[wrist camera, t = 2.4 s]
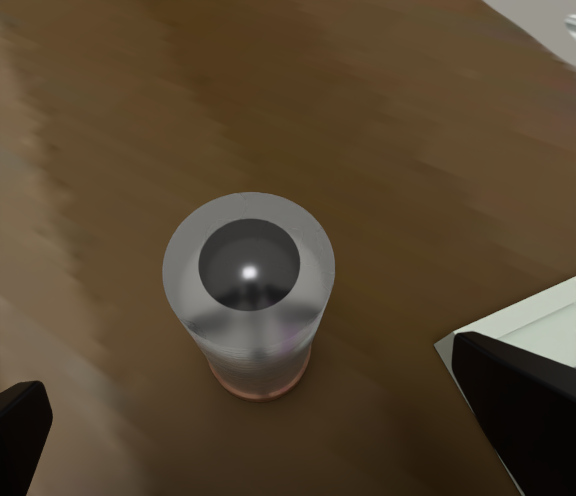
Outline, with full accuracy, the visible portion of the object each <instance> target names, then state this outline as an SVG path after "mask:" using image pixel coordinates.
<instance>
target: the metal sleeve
mask: <svg viewBox="0 0 576 496" xmlns="http://www.w3.org/2000/svg"><path fill="white" fill-rule="evenodd" d="M162 273H163V284H164V289H165V293H166V296H167V298H168V301H169V303H170V305H171V307H172V309H173V310H174V312H175V314H176V315H177V317H178V318H179V319H180V321H181V322H182V324H183V325H184V327H185V328H186V329H187V331H188V332H189V334H190V335H191V337H192V338H193V339H194V341H195V342H196V344H197V345H198V346H199V348H200V349H201V351H202V352H203V354H204V355H205V356H206V358H207V359H208V362H209V365H210V368H211V370H212V372H213V374H214V375H215V377H216V378H217V380H218V381H219V382H220V383H221V385H222V386H223V387H224V388H225V389H226V390H227V391H228V392H229V393H231V394H232V395H233V396H235V397H237V398H239V399H242V400H245V401H249V402H257V403H260V402H268V401H273V400H275V399H278V398H280V397H282V396H284V395H285V394H287V393H288V392H290V391H291V390H292V389H293V388H294V387H295V386H296V385H297V383H298V382H299V381H300V379H301V378H302V376H303V374H304V372H305V369H306V367H307V365H308V362H309V358H310V354H311V344H312V342H313V339H314V336H315V334H316V331H317V328H318V326H319V323H320V320H321V318H322V315H323V312H324V310H325V307H326V304H327V301H328V299H329V296H330V293H331V290H332V287H333V283H334V276H335V261H334V254H333V250H332V247H331V243H330V241H329V239H328V237H327V235H326V233H325V231H324V230H323V228H322V226H321V225H320V224H319V223H318V222H317V220H316V219H315V218H314V217H313V216H312V215H311V214H310V213H309V212H307V211H306V210H305V209H303V208H302V207H300V206H299V205H297V204H295V203H294V202H292V201H289V200H287V199H285V198H282V197H279V196H276V195H272V194H266V193H258V192H244V193H236V194H230V195H227V196H223V197H220V198H217V199H215V200H212V201H210V202H208V203H206V204H204V205H203V206H201V207H200V208H198V209H197V210H195V211H194V212H193V213H192V214H190V215H189V216H188V217H187V218H186V219H185V220H184V221H183V222H182V223H181V224H180V226H179V227H178V228H177V230H176V231H175V233H174V234H173V236H172V238H171V240H170V242H169V244H168V247H167V249H166V252H165V256H164V261H163V271H162Z"/></svg>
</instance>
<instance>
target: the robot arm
mask: <svg viewBox="0 0 576 496" xmlns="http://www.w3.org/2000/svg"><path fill="white" fill-rule="evenodd" d="M451 366H452V371H453V374H454V376H455V378H456V380H457V382H458V384H459V386H460V388H461V390H462V392H463V394H464V396H465V397H466V399H467V401H468V403H469V405H470V407H471V409H472V411H473V413H474V415H475V417H476V419H477V420H478V422H479V424H480V426H481V428H482V430H483V431H484V433H485V435H486V436H487V438H488V440H489V441H490V443H491V444H492V446H493V447H494V449H495V451H496V452H497V454H498V455H499V457H500V458H501V460H502V461H503V463H504V464H505V466H506V467H507V469H508V470H509V472H510V473H511V475H512V476H513V478H514V479H515V481H516V482H517V484H518V485H519V487H520V489H521V490H522V492H523V493H524V495H525V496H576V368H573V367H571V366H568V365H565V364H562V363H560V362H557V361H554V360H552V359H549V358H546V357H543V356H541V355H538V354H535V353H533V352H530V351H527V350H524V349H522V348H519V347H516V346H513V345H511V344H508V343H505V342H503V341H500V340H497V339H494V338H492V337H489V336H486V335H483V334H481V333H478V332H475V331H467V332H459V333H457V334H456V335H455V336H454V339H453V350H452V361H451ZM52 420H53V414H52V409H51V406H50V403H49V399H48V396H47V393H46V390H45V387H44V384H43V383H42V382H40V381H28V382H20V383H17V384H15V385H14V386H12V387H10V388H8V389H7V390H5V391H3V392H1V393H0V496H26V494H27V492H28V489H29V487H30V484H31V481H32V478H33V475H34V473H35V470H36V467H37V464H38V461H39V459H40V456H41V453H42V450H43V447H44V445H45V442H46V439H47V436H48V433H49V431H50V428H51V425H52Z"/></svg>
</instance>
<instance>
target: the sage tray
mask: <svg viewBox="0 0 576 496" xmlns="http://www.w3.org/2000/svg"><path fill="white" fill-rule="evenodd" d="M467 331H475V332H478V333H481V334H483V335H486V336H489V337H492V338H494V339H497V340H500V341H503V342H505V343H508V344H511V345H513V346H516V347H519V348H522V349H524V350H527V351H530V352H533V353H535V354H538V355H541V356H543V357H546V358H549V359H552V360H554V361H557V362H560V363H562V364H565V365H568V366H571V367H573V368H576V277H573V278H571V279H569V280H567V281H564V282H562V283H560V284H558V285H556V286H553V287H551V288H549V289H547V290H545V291H542V292H540V293H538V294H536V295H533V296H531V297H529V298H527V299H525V300H522V301H520V302H518V303H516V304H513V305H511V306H509V307H507V308H505V309H502V310H500V311H498V312H496V313H494V314H491V315H489V316H487V317H485V318H482V319H480V320H478V321H476V322H474V323H471V324H469V325H467V326H465V327H462V328H460V329H458V330H456V331H454V332H452V333H450V334H449V335H447V336H446V337H444V338H443V339H441V340H440V341H438V342H437V343H435V344H434V346H435V348H436V350H437V352H438V353H439V355H440V357H441V358H442V360H443V362H444V364H445V365H446V367H447V369H448V370H449V372H450V374H451V376H452V377H453V379H454V381H455V382H456V384H457V386H458V388H459V389H460V391H461V393H462V394H463V392H462V390H461V388H460V386H459V384H458V382H457V380H456V378H455V376H454V374H453V371H452V366H451V361H452V350H453V339H454V336H455V335H456V334H457V333H459V332H467ZM463 396H464V394H463ZM464 398H465V400H466V401H467V399H466V397H465V396H464ZM467 403H468V401H467ZM468 405H469V403H468ZM469 406H470V405H469ZM470 408H471V407H470ZM471 410H472V409H471ZM472 412H473V411H472ZM496 453H497V452H496ZM498 456H499V455H498ZM499 458H500V457H499ZM500 459H501V458H500ZM501 461H502V460H501ZM502 463H503V461H502ZM503 465H504V466H505V464H504V463H503ZM505 468H506V470H507V471H508V473H509V475H510V477H511V478H512V480H513V482H514V483H515V485H516V487H517V489H518V490H519V492H520V494H521V495H522V496H525V495H524V493H523V492H522V490H521V489H520V487H519V485H518V484H517V482H516V481H515V479H514V478H513V476H512V475H511V473H510V472H509V470H508V469H507V467H506V466H505Z"/></svg>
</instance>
